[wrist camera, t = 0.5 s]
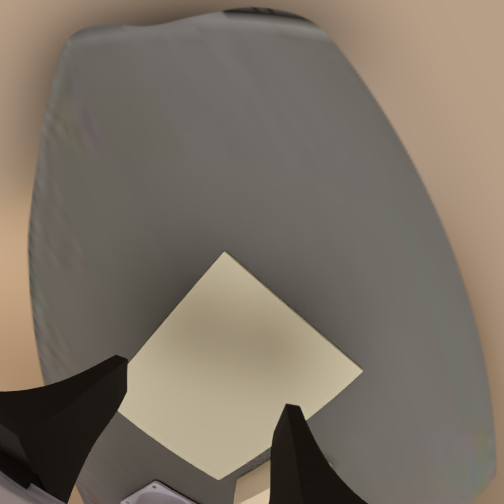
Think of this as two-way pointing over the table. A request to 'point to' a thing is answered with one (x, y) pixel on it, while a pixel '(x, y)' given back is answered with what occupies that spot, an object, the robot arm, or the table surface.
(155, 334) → the mat
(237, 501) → the card deck box
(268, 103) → the table surface
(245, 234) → the table surface
